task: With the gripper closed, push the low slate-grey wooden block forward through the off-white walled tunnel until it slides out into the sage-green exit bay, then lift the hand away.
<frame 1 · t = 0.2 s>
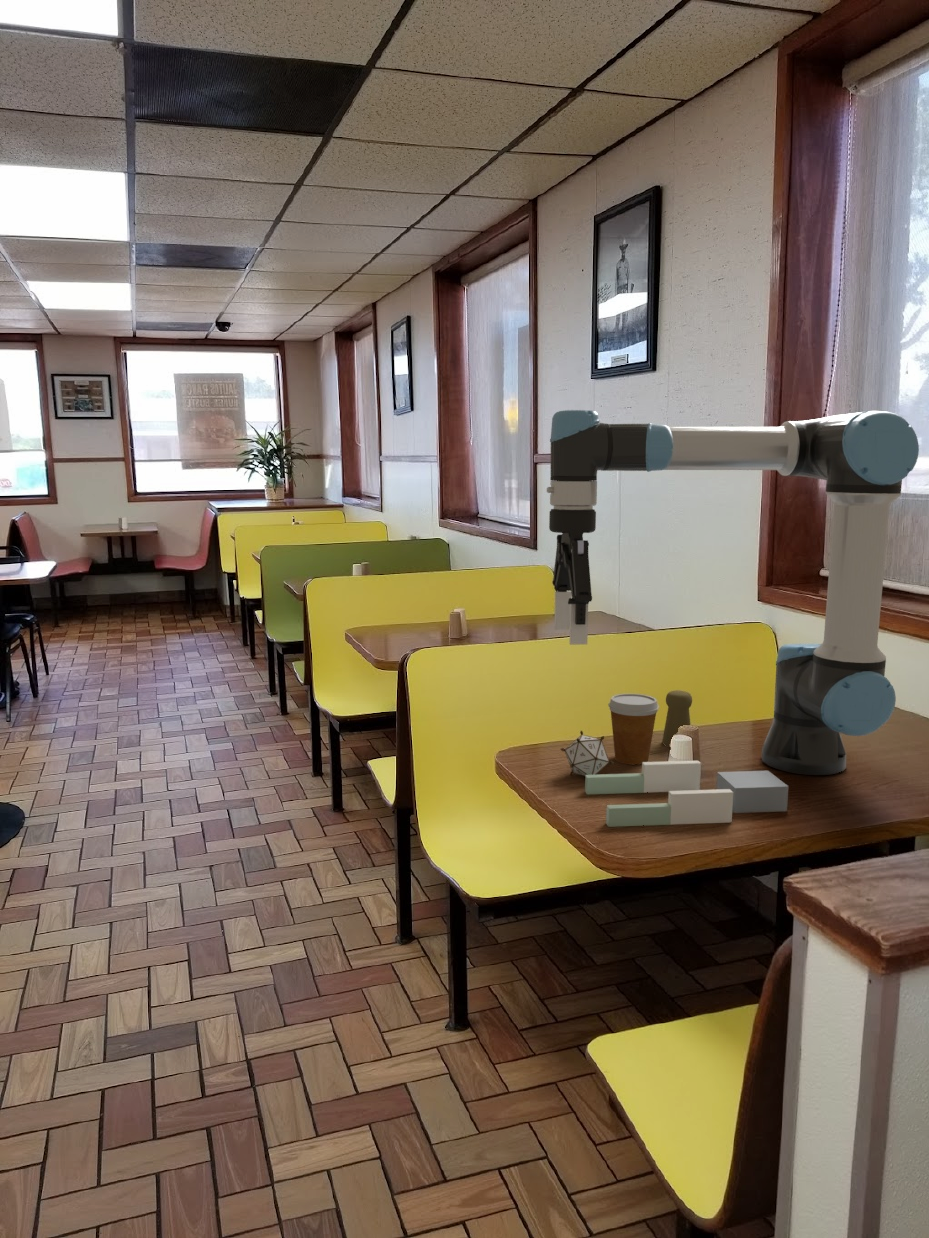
hand: (570, 636, 155), 28 cm above the table, tool pointing down, fingers open, 13 cm apart
disposable coffee cup: (631, 760, 179), on the table
game die: (586, 778, 169), on the table
slate block: (750, 804, 156), on the table
pepper mill: (677, 745, 189), on the table
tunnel: (655, 806, 155), on the table
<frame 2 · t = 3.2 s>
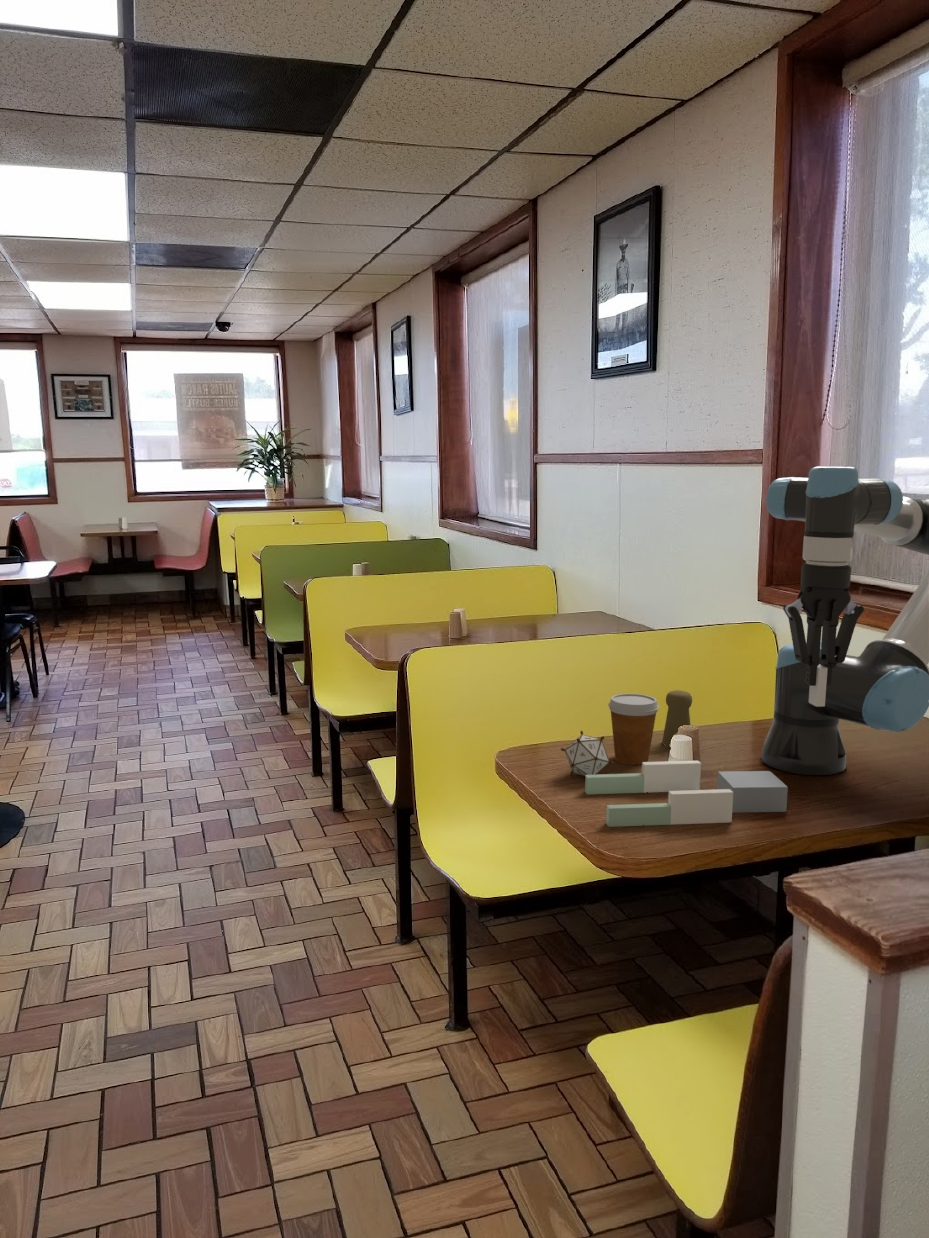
hand: (816, 704, 155), 17 cm above the table, tool pointing down, fingers closed
nothing on the table moved.
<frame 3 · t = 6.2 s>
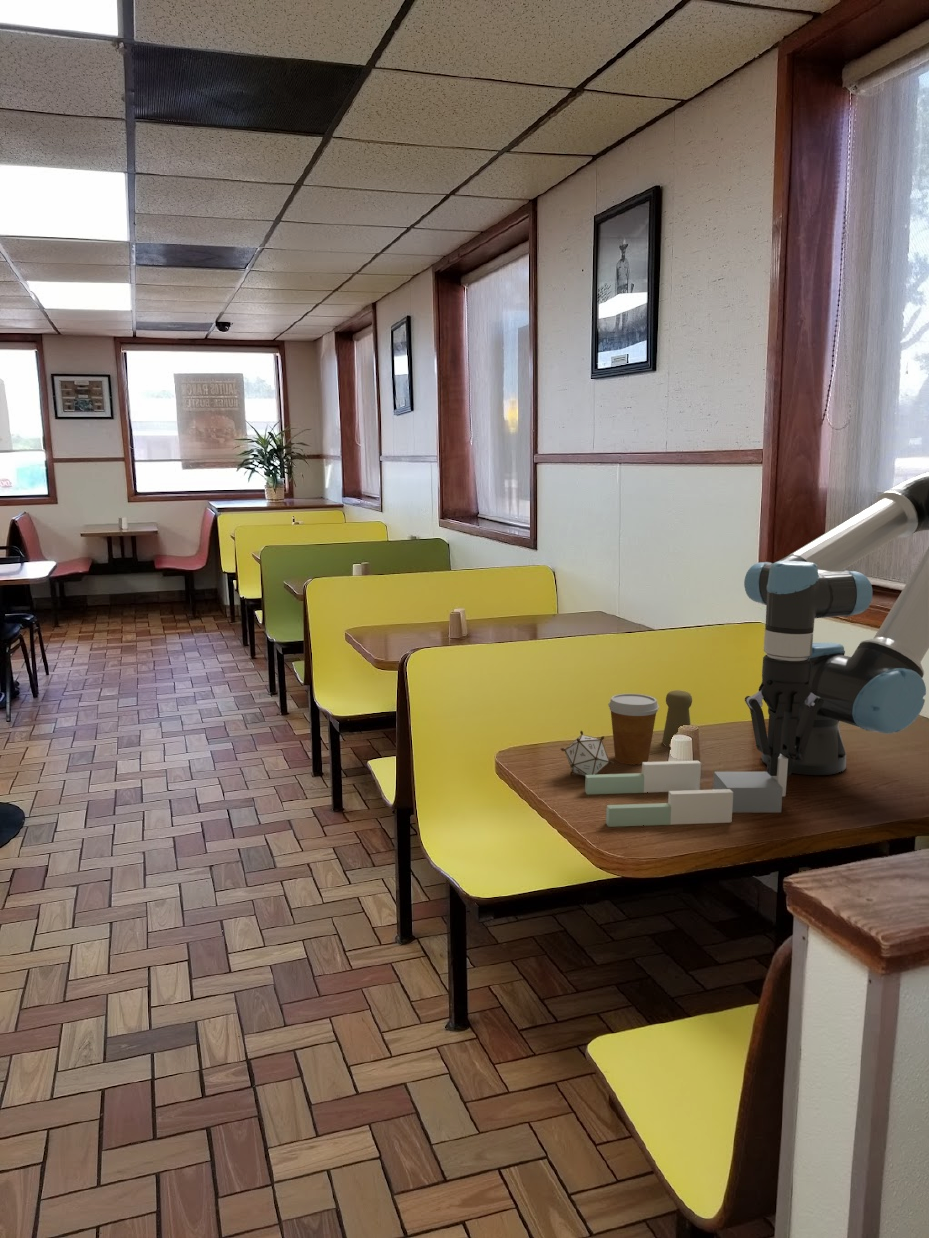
hand: (777, 793, 156), 2 cm above the table, tool pointing down, fingers closed
slate block: (746, 805, 156), on the table, touching gripper
everything else where it was.
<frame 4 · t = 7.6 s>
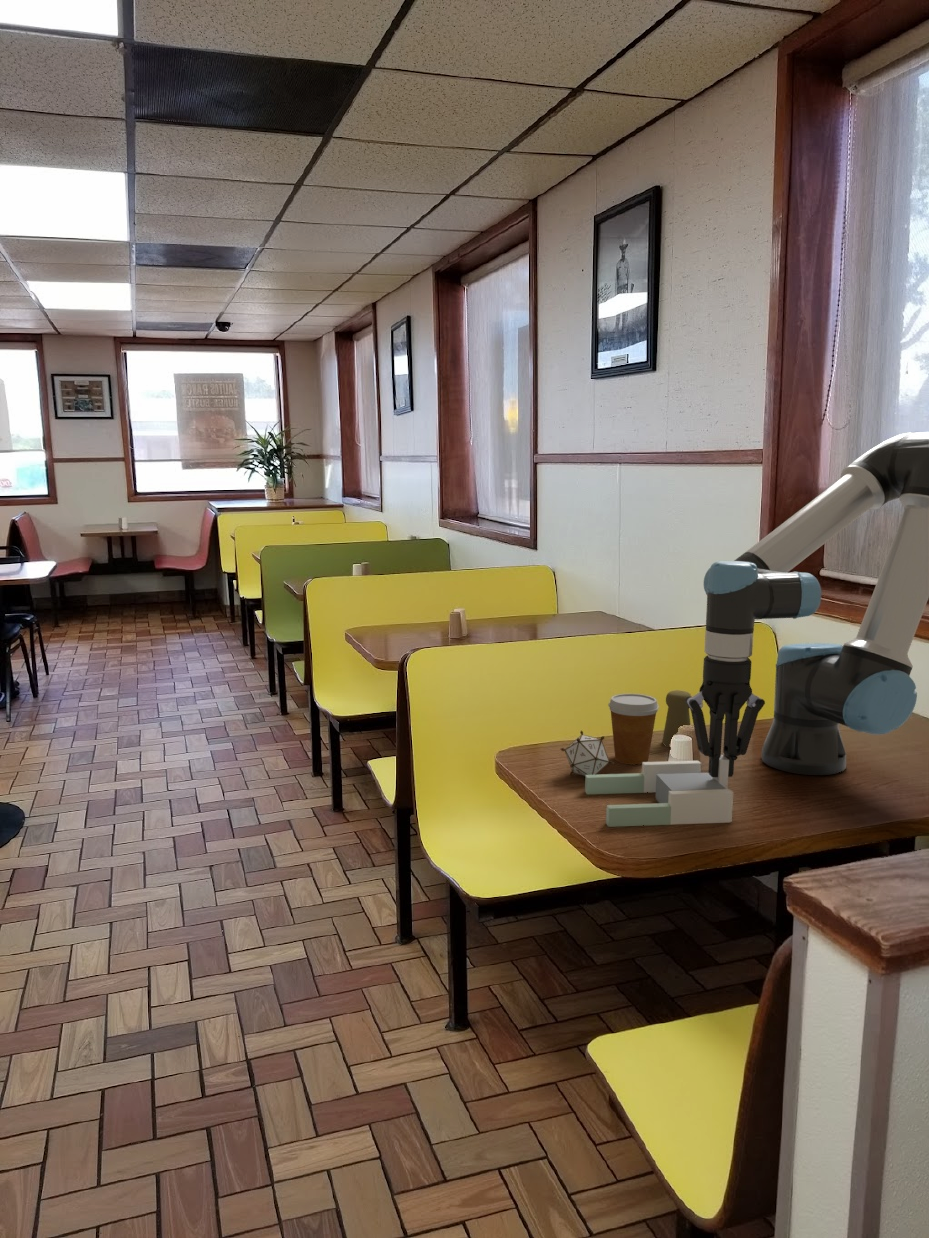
hand: (719, 794, 155), 2 cm above the table, tool pointing down, fingers closed
slate block: (689, 807, 155), on the table
everything else where it was.
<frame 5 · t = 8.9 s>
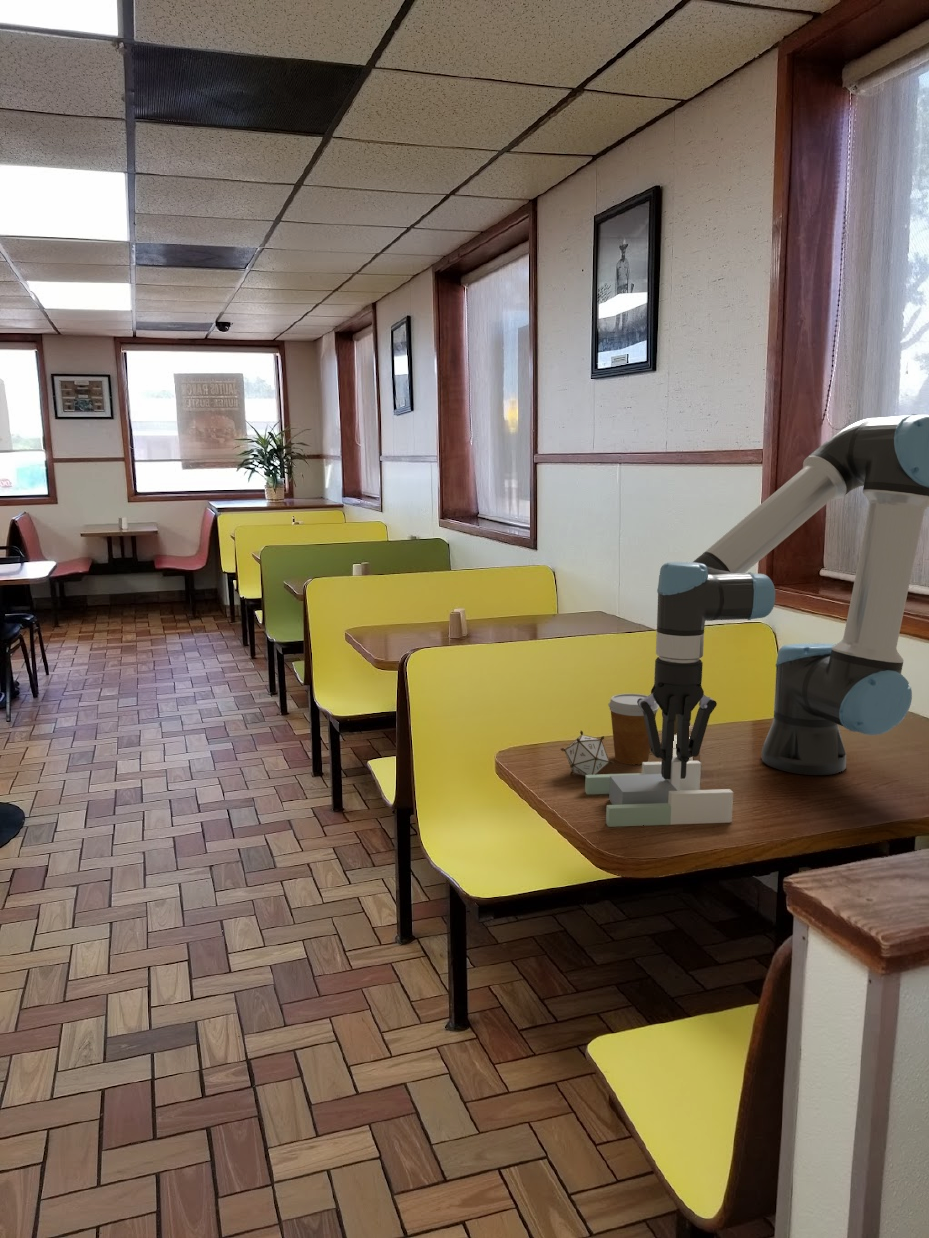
hand: (672, 796, 155), 2 cm above the table, tool pointing down, fingers closed
slate block: (641, 808, 154), on the table
everything else where it was.
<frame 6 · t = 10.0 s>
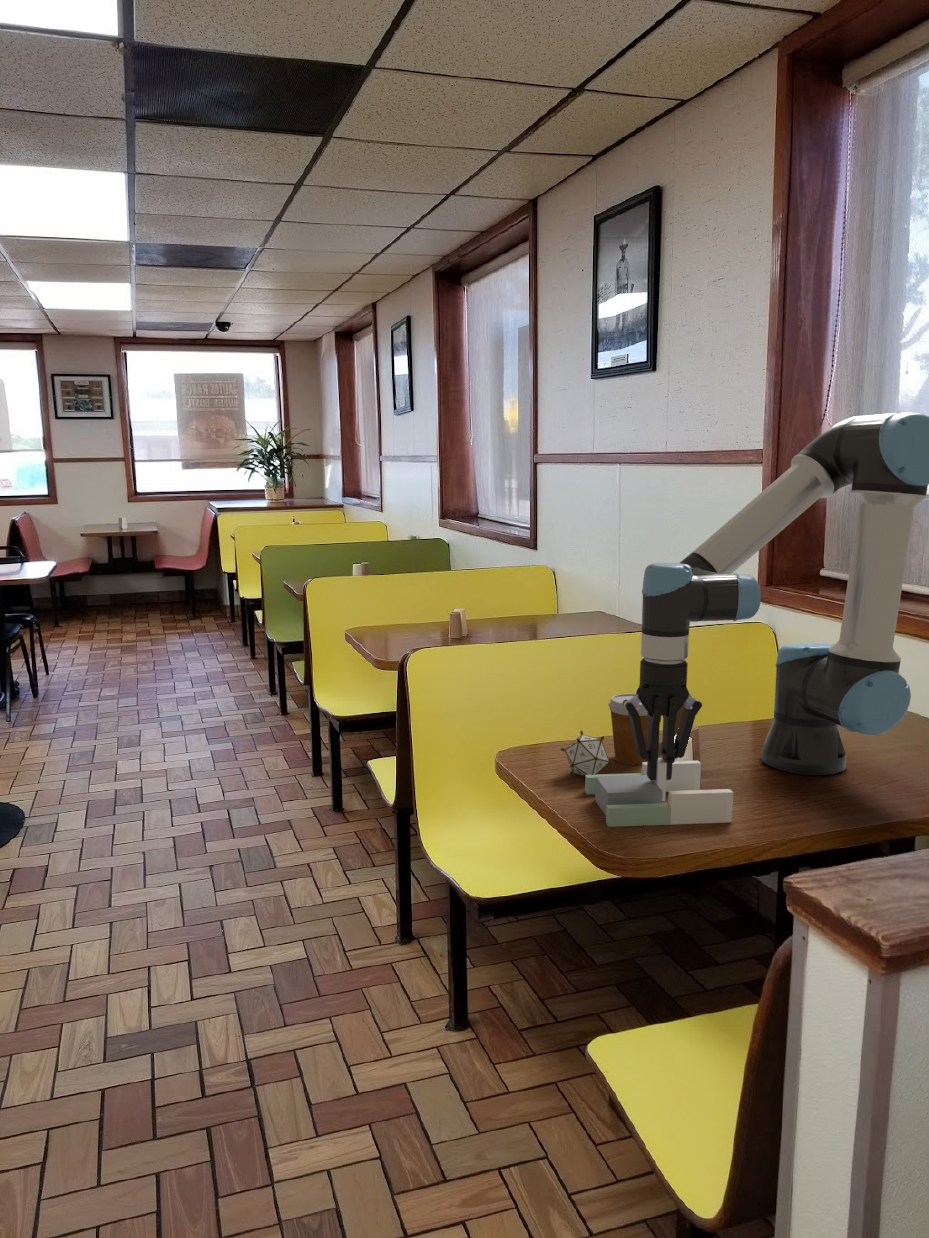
hand: (658, 797, 155), 1 cm above the table, tool pointing down, fingers closed
slate block: (627, 809, 154), on the table
everything else where it was.
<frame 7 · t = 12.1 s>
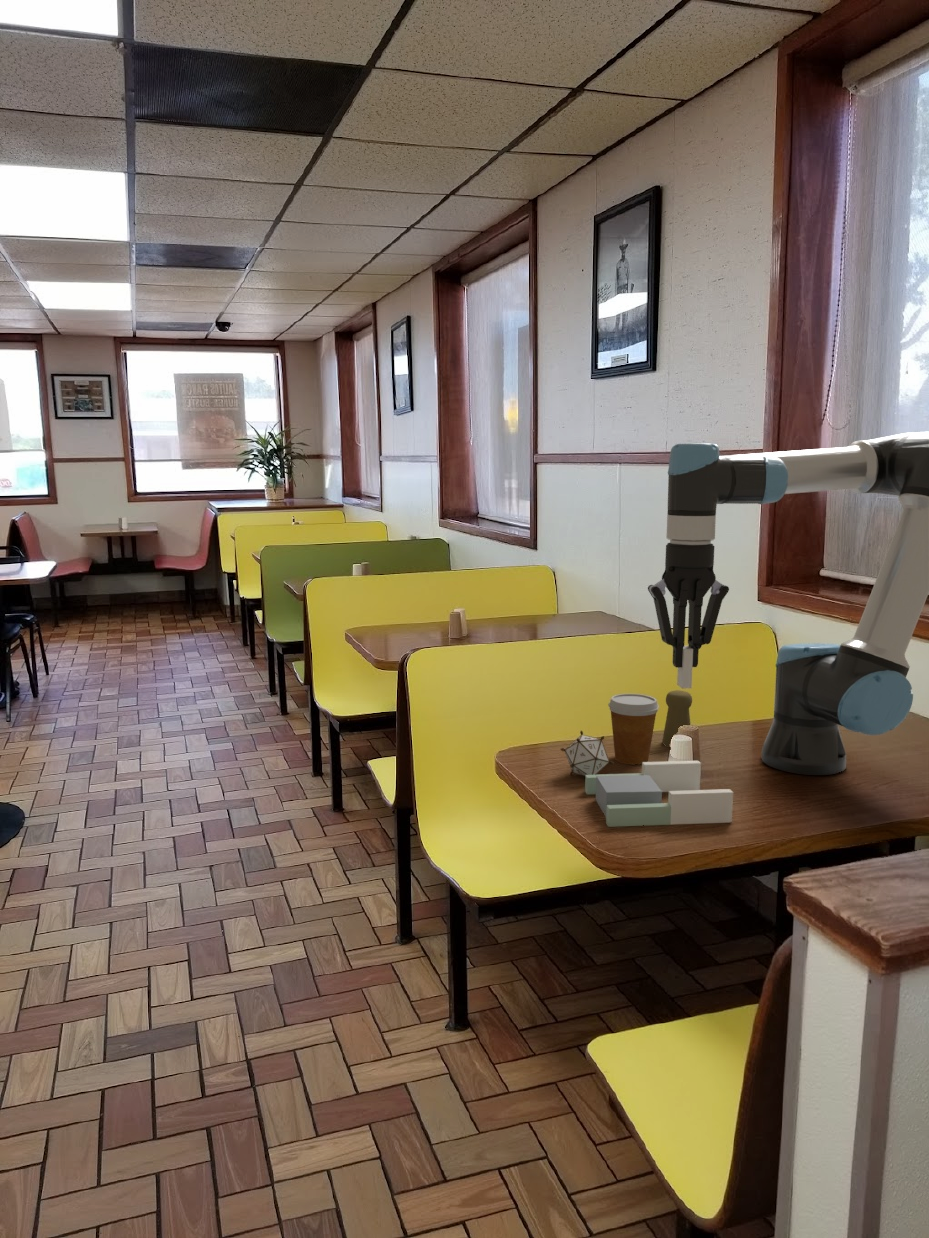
hand: (684, 686, 152), 20 cm above the table, tool pointing down, fingers closed
nothing on the table moved.
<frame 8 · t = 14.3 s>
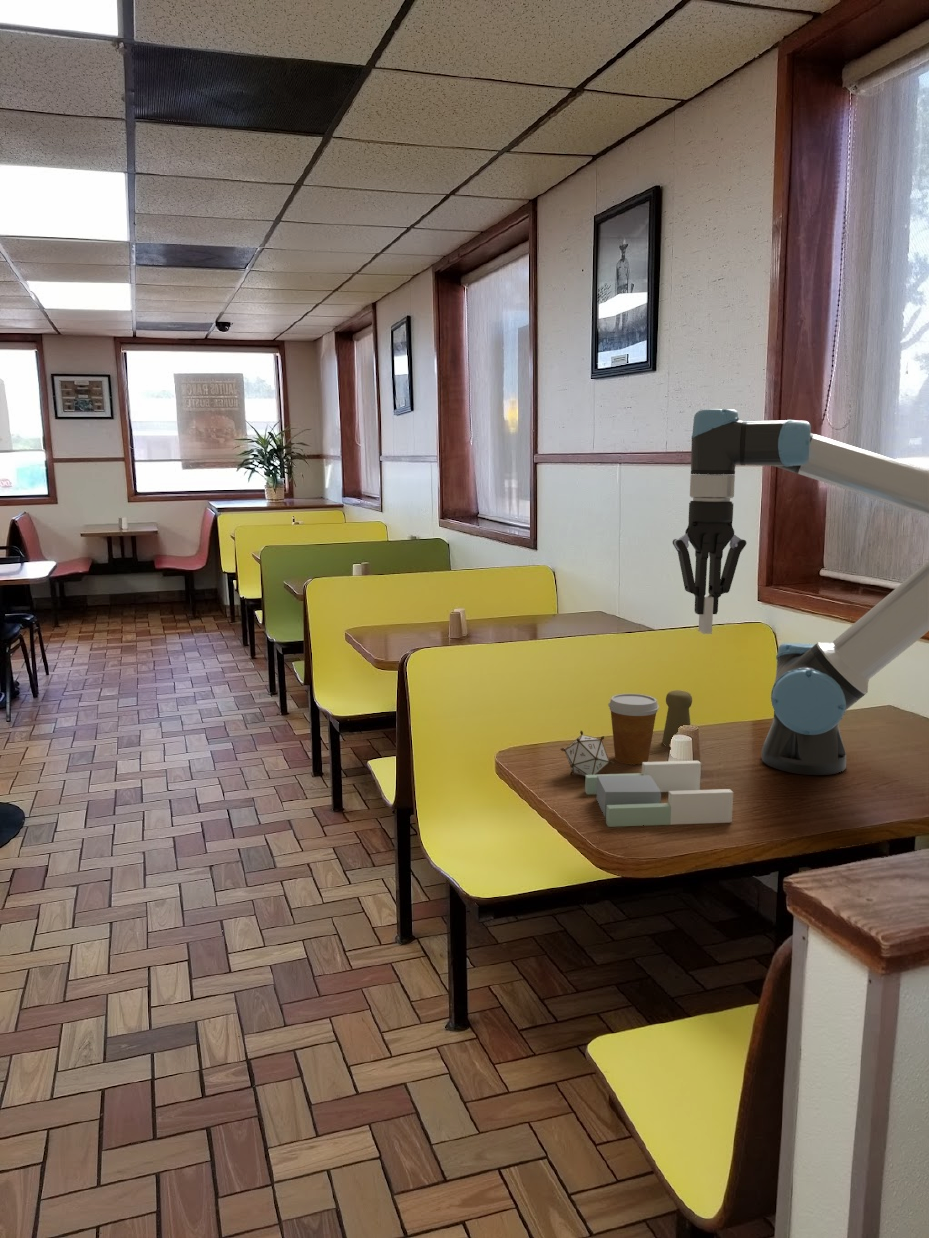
hand: (705, 632, 167), 26 cm above the table, tool pointing down, fingers closed
nothing on the table moved.
at the end: slate block inside the target area (1.8 cm from its centre), on the table; slate block tilted 0°; the gripper is holding nothing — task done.
